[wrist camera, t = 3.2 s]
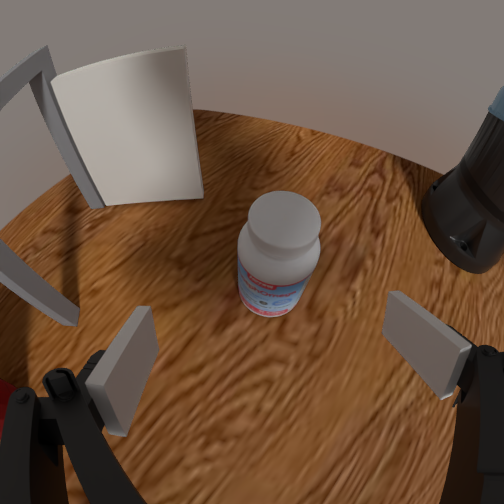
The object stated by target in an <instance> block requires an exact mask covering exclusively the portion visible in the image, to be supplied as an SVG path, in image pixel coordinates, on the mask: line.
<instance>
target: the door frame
mask: <svg viewBox="0 0 504 504" xmlns="http://www.w3.org/2000/svg"><path fill="white" fill-rule="evenodd" d="M56 76H57V75H56V72H55V69H54V65H53V62H52V59H51V56H50V53H49V49H48V46H47V45H46V46H44V47H42V48H40V49H38V50H36V51H34V52H32V53H31V54H29V55H28V56H27V57H25V58H24V59H23V60H21V61H20V62H19V63H18V64H16V65H15V66H14V67H12V68H11V69H10V70H9V71H8V72H6V73H5V74H4V75H3V76H2V77H0V110H1V109H2V108H3V107H4V106H5V105H6V104H7V103H8V102H9V101H10V100H11V99H12V98H13V96H14V95H16V94H17V93H18V92H19V91H20V89H22V88H23V87H24V86H25V85H26V84H27V83H28V82H29V84H30V86H31V89H32V92H33V94H34V97H35V99H36V101H37V104H38V106H39V109H40V111H41V113H42V115H43V118H44V120H45V122H46V125H47V127H48V129H49V131H50V133H51V135H52V137H53V140H54V142H55V144H56V146H57V148H58V150H59V151H60V154H61V156H62V158H63V160H64V161H65V163H66V165H67V167H68V169H69V171H70V173H71V175H72V176H73V178H74V180H75V182H76V184H77V185H78V187H79V189H80V191H81V192H82V194H83V196H84V198H85V199H86V201H87V203H88V204H89V206H90V208H91V209H96V208H104V206H105V202H104V201H103V199H102V197H101V195H100V193H99V191H98V189H97V187H96V185H95V183H94V182H93V180H92V178H91V176H90V174H89V172H88V170H87V167H86V165H85V163H84V161H83V159H82V157H81V155H80V153H79V151H78V148H77V146H76V144H75V142H74V140H73V137H72V135H71V133H70V131H69V128H68V126H67V123H66V121H65V119H64V116H63V114H62V111H61V109H60V106H59V104H58V101H57V98H56V96H55V93H54V90H53V88H52V85H51V81H52V80H53V79H54V78H55V77H56ZM0 282H1V283H2V284H4V285H5V286H6V287H8V288H9V289H10V290H12V291H13V292H14V293H16V294H17V295H18V296H20V297H21V298H23V299H24V300H25V301H27V302H28V303H30V304H31V305H33V306H34V307H36V308H37V309H39V310H40V311H42V312H43V313H45V314H46V315H48V316H49V317H51V318H52V319H54V320H56V321H57V322H59V323H61V324H62V325H68V326H77V324H78V317H79V311H80V308H79V307H77V306H76V305H75V304H73V303H72V302H71V301H69V300H68V299H67V298H66V297H64V296H63V295H62V294H61V293H59V292H58V291H57V290H56V289H54V288H53V287H52V286H51V285H50V284H48V283H47V282H46V281H45V280H44V279H43V278H41V277H40V276H39V275H38V274H37V273H36V272H35V271H33V270H32V269H31V268H30V267H29V266H28V265H27V264H26V263H25V262H24V261H23V260H21V259H20V258H19V257H18V256H17V255H16V254H15V253H14V252H13V251H12V250H11V249H10V248H9V247H8V246H7V245H6V244H5V243H4V242H3V241H2V240H1V239H0Z"/></svg>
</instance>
